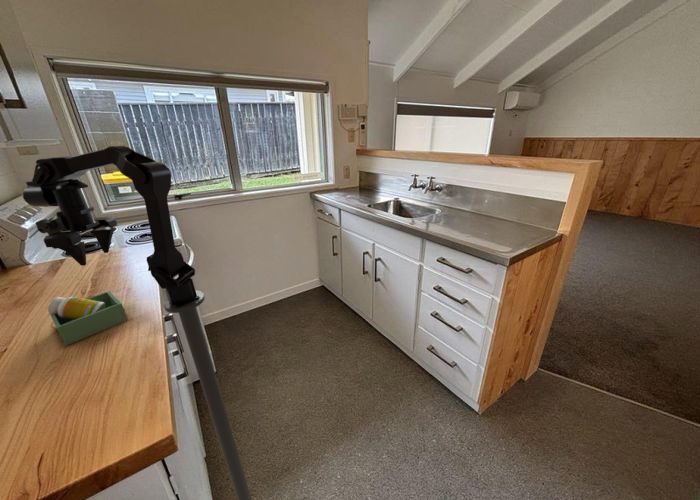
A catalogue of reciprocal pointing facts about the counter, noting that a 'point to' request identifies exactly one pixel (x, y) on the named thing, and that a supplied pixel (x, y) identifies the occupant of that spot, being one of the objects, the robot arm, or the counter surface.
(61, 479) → the counter surface
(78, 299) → the supplement bottle
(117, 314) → the open box
